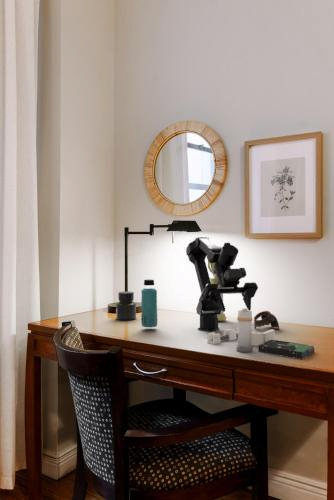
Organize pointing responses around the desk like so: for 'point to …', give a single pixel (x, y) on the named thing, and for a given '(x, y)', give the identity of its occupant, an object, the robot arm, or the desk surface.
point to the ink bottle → (126, 306)
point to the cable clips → (217, 336)
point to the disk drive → (286, 349)
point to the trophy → (214, 281)
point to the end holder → (262, 337)
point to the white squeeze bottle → (244, 331)
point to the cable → (225, 337)
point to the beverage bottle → (149, 305)
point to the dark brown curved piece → (265, 320)
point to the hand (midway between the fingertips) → (237, 310)
